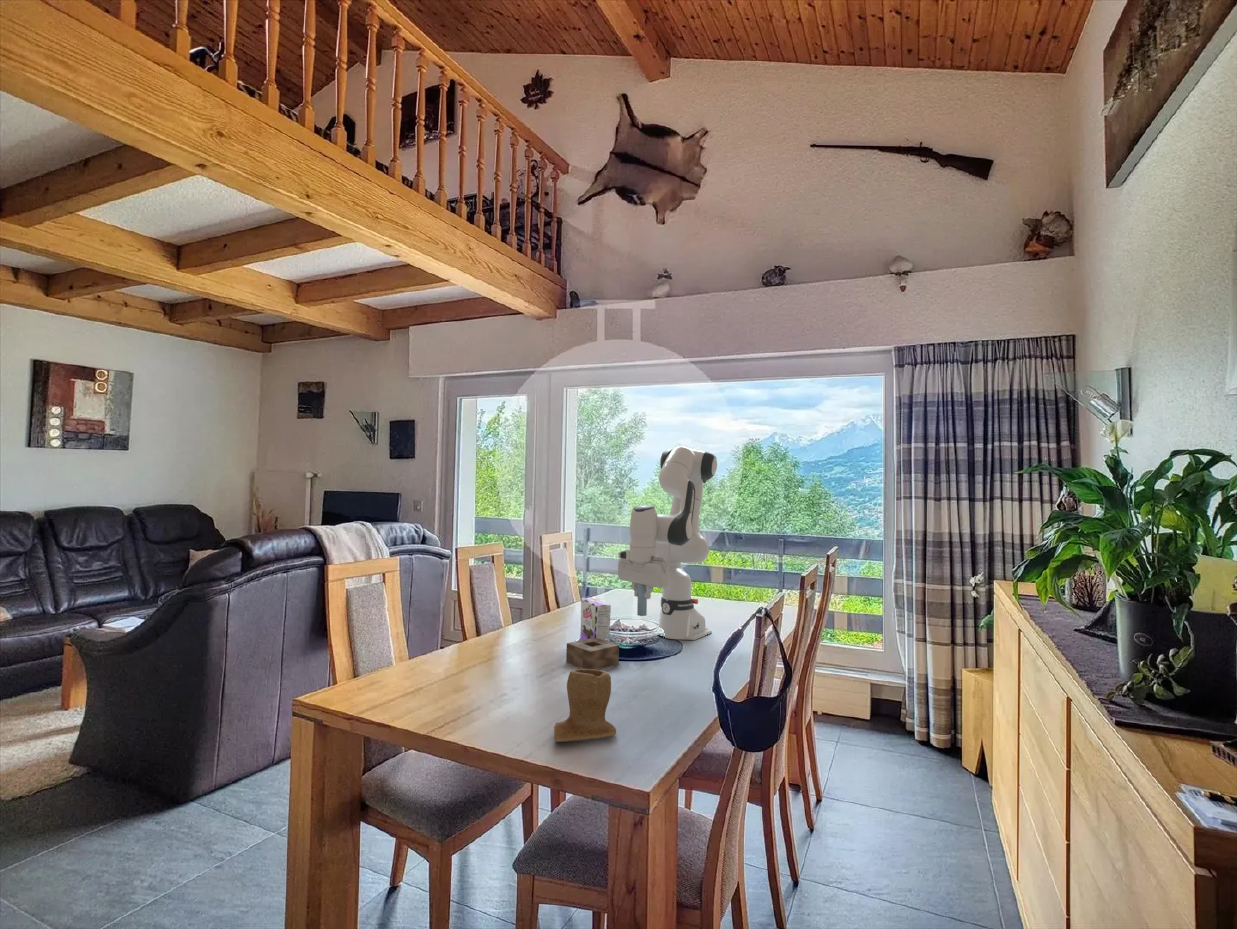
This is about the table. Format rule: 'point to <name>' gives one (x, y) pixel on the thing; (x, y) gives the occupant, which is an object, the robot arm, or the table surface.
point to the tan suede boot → (586, 707)
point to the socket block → (592, 653)
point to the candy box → (594, 618)
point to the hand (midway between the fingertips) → (642, 597)
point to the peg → (641, 601)
